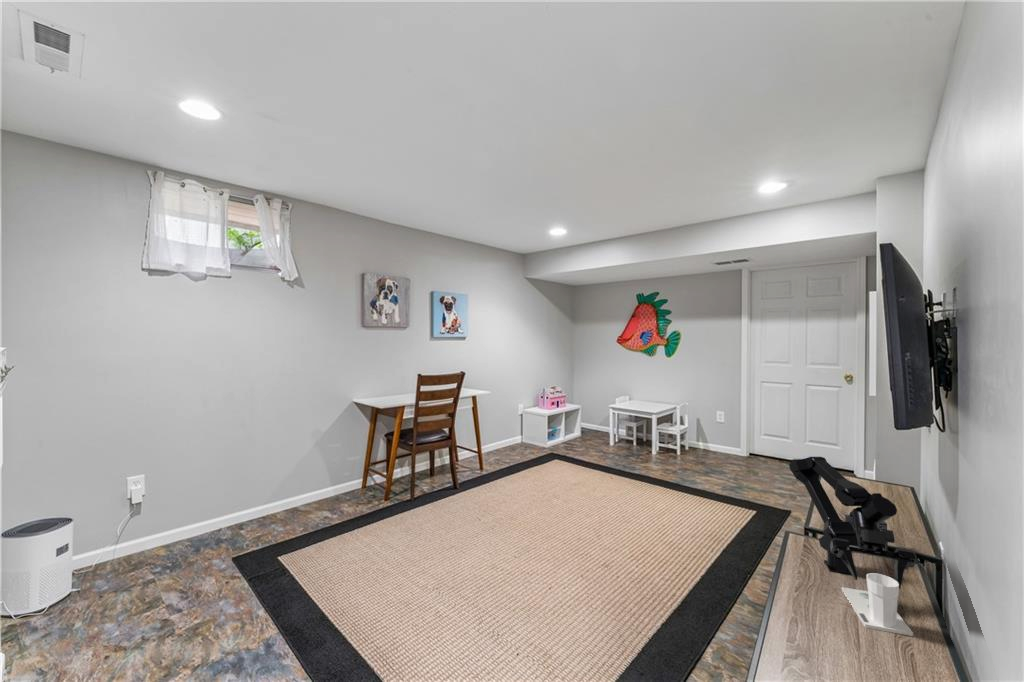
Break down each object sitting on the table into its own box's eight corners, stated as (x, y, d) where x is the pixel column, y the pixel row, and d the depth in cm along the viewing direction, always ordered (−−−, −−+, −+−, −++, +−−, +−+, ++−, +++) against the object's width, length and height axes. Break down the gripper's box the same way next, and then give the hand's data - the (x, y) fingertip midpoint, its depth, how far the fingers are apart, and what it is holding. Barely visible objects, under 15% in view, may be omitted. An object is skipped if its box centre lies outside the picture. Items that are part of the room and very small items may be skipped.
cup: (866, 610, 119) (866, 570, 119) (898, 619, 115) (898, 578, 115) (867, 622, 114) (866, 581, 114) (900, 633, 109) (899, 590, 109)
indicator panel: (841, 589, 130) (841, 586, 130) (882, 596, 126) (882, 593, 126) (865, 627, 113) (865, 623, 113) (913, 636, 109) (913, 632, 109)
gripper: (831, 510, 127) (839, 565, 117) (914, 522, 118) (930, 582, 109) (827, 526, 134) (834, 579, 125) (905, 538, 125) (919, 596, 116)
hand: (877, 584), depth 118 cm, fingers open, 9 cm apart
